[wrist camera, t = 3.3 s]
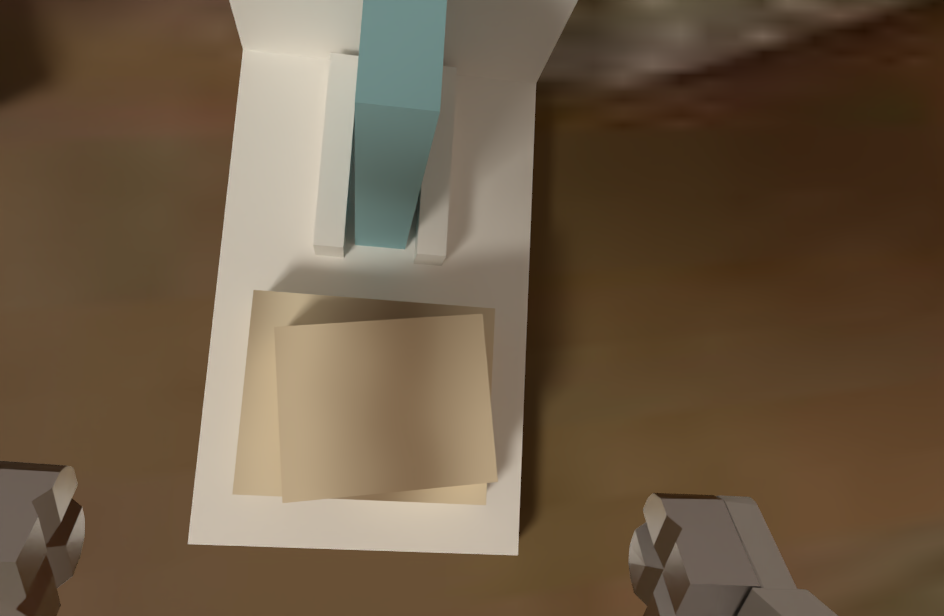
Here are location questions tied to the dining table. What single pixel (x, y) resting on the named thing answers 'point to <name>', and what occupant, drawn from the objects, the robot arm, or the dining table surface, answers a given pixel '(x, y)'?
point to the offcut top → (383, 406)
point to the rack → (375, 268)
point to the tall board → (395, 113)
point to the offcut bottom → (259, 398)
